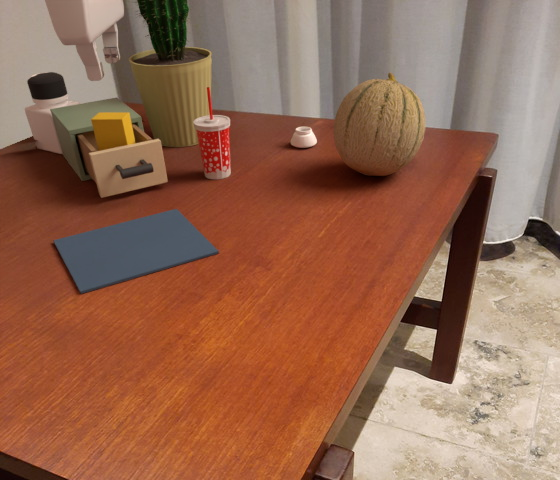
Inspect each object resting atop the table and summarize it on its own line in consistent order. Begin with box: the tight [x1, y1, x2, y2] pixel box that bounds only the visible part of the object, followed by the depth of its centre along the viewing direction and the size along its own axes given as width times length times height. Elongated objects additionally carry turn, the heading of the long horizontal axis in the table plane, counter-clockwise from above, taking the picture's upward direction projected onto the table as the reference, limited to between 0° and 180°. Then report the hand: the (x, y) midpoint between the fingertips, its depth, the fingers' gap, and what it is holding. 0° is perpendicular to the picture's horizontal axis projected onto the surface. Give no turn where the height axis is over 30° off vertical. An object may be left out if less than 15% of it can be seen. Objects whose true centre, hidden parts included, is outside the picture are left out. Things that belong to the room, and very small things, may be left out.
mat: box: [53, 208, 220, 295], centre depth 78 cm, size 19×16×1 cm
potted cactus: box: [128, 0, 213, 148], centre depth 103 cm, size 15×15×30 cm
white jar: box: [289, 126, 318, 149], centre depth 106 cm, size 5×3×5 cm
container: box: [24, 71, 82, 155], centre depth 107 cm, size 8×8×13 cm
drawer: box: [75, 123, 169, 199], centre depth 92 cm, size 18×11×7 cm, turn 29°
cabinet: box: [50, 97, 145, 182], centre depth 101 cm, size 15×13×9 cm
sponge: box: [91, 112, 135, 151], centre depth 92 cm, size 4×5×9 cm
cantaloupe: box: [333, 72, 426, 177], centre depth 90 cm, size 15×15×15 cm
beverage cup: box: [193, 87, 232, 180], centre depth 93 cm, size 6×6×14 cm
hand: (105, 70), depth 74 cm, fingers open, 8 cm apart
